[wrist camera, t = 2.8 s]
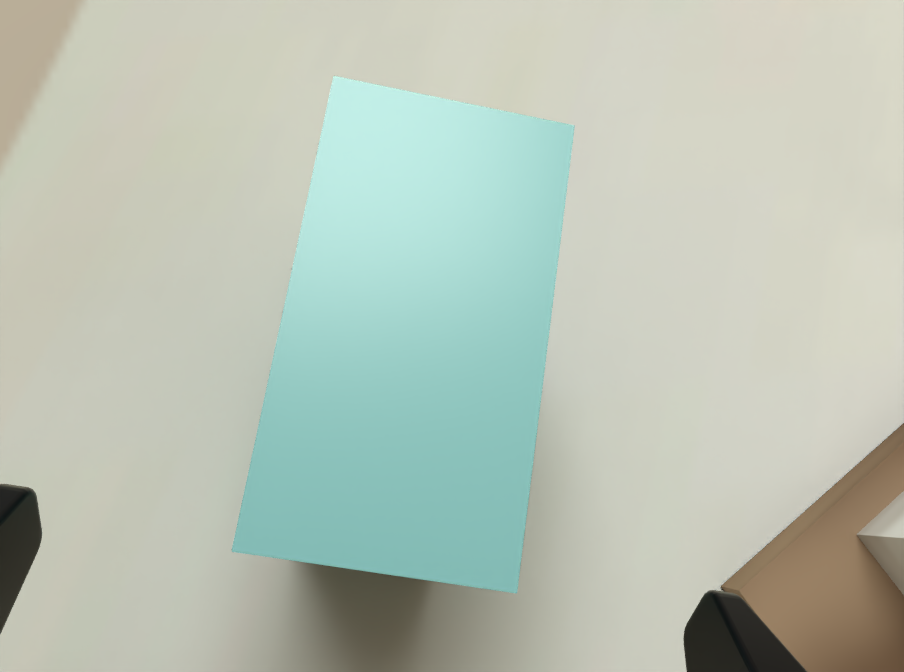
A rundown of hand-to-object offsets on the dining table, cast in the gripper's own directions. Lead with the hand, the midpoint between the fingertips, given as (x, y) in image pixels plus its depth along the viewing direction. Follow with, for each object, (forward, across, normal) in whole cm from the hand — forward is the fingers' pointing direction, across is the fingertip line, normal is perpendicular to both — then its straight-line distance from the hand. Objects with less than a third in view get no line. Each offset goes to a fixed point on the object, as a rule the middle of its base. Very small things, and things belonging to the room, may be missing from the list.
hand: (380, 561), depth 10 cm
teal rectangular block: (+10, 0, +5) cm, 11 cm away
